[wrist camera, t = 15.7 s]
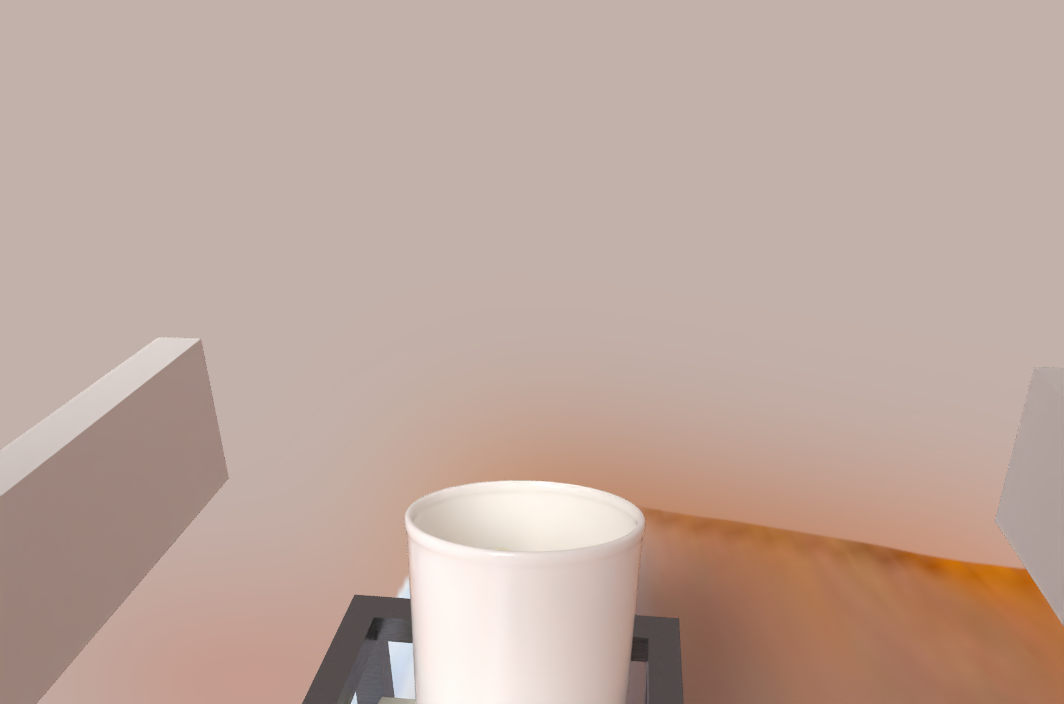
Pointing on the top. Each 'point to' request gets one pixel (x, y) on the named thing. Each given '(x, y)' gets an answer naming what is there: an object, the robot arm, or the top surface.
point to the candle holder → (523, 593)
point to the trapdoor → (396, 701)
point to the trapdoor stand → (377, 620)
